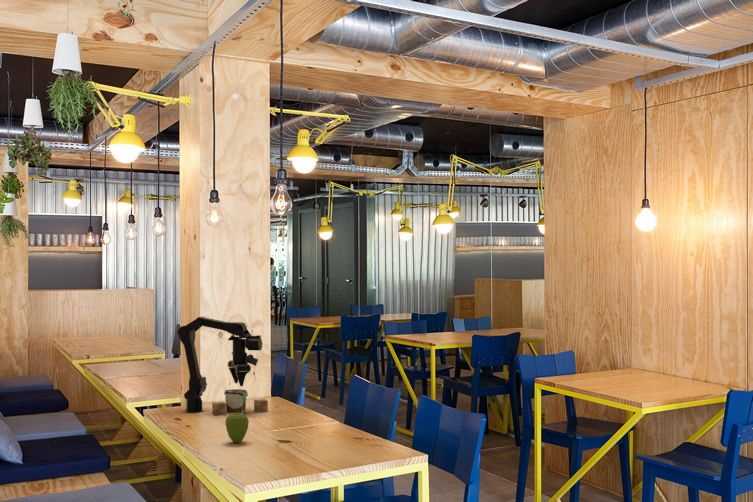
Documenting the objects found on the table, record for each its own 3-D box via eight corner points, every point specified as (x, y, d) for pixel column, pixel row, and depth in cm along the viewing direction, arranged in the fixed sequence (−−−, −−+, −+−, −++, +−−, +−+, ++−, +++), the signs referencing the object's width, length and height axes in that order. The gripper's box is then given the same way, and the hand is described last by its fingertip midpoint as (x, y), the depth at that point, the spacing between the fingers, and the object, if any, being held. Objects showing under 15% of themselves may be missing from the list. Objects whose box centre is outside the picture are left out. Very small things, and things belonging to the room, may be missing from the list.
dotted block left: (214, 415, 318) (214, 404, 318) (212, 413, 322) (212, 402, 322) (225, 414, 320) (225, 403, 320) (223, 413, 324) (223, 401, 324)
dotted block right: (257, 412, 325) (257, 401, 325) (254, 410, 329) (254, 399, 329) (267, 411, 327) (267, 400, 327) (264, 409, 331) (264, 398, 332)
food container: (253, 412, 324) (253, 390, 324) (244, 415, 319) (244, 392, 319) (233, 410, 331) (233, 388, 331) (224, 412, 325) (224, 390, 326)
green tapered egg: (223, 440, 270) (223, 410, 271) (246, 439, 273) (246, 408, 274) (227, 446, 262) (227, 414, 262) (250, 444, 265) (250, 412, 266)
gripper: (262, 351, 321) (261, 386, 320) (250, 347, 337) (250, 380, 337) (237, 352, 316) (237, 388, 315) (227, 348, 333) (227, 382, 332)
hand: (238, 384), depth 325 cm, fingers open, 9 cm apart
